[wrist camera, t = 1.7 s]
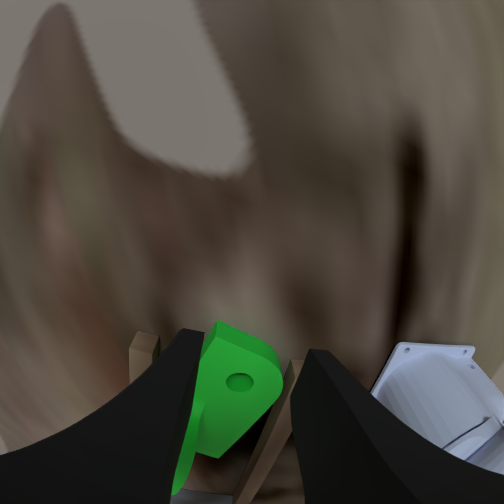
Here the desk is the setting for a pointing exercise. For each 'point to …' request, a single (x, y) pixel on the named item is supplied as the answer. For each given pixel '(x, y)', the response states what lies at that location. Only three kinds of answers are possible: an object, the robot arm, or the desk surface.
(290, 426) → the guide track
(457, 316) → the desk surface
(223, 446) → the mechanical part
